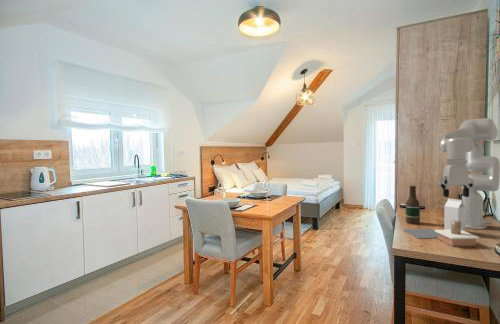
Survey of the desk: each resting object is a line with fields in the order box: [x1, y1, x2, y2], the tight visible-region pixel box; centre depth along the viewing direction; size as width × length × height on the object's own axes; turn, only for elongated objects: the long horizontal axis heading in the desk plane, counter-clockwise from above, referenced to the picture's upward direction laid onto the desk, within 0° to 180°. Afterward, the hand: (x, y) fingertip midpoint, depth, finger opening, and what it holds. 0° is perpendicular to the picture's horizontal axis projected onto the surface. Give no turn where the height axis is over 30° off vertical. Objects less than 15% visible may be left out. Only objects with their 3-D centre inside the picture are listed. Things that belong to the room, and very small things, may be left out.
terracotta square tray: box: [437, 233, 477, 248], centre depth 141 cm, size 11×11×4 cm
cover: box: [434, 221, 480, 240], centre depth 140 cm, size 13×13×7 cm
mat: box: [402, 228, 438, 240], centre depth 156 cm, size 16×16×1 cm
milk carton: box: [443, 197, 466, 232], centre depth 157 cm, size 7×7×19 cm
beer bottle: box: [405, 185, 421, 225], centre depth 178 cm, size 8×8×24 cm
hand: (455, 196), depth 139 cm, fingers open, 9 cm apart
